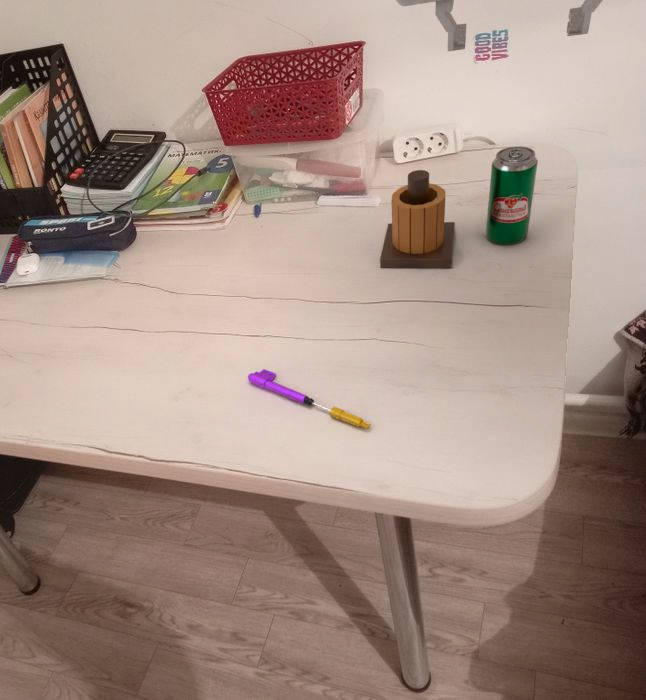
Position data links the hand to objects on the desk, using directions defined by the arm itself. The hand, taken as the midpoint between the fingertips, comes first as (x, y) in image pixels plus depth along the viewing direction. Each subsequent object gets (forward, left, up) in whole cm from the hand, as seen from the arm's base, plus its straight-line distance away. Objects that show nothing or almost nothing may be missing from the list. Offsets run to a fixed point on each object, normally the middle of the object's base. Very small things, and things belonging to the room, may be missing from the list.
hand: (514, 41), depth 55 cm
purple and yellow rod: (+18, +17, -31) cm, 40 cm away
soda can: (-2, -16, -31) cm, 35 cm away
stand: (+9, -13, -31) cm, 35 cm away
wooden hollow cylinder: (+9, -13, -30) cm, 34 cm away
